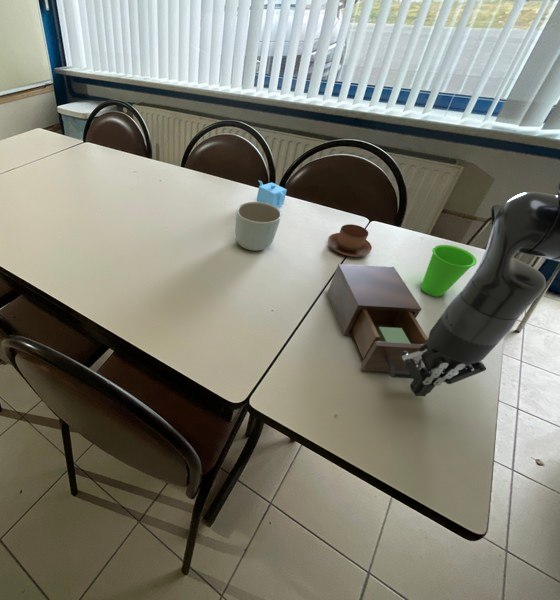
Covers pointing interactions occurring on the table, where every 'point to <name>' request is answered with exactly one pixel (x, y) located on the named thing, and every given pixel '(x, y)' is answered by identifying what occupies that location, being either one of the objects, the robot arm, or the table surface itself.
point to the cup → (445, 268)
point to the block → (392, 335)
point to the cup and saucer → (350, 241)
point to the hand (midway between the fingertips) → (417, 392)
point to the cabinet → (367, 293)
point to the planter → (256, 225)
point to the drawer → (387, 353)
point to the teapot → (271, 194)
